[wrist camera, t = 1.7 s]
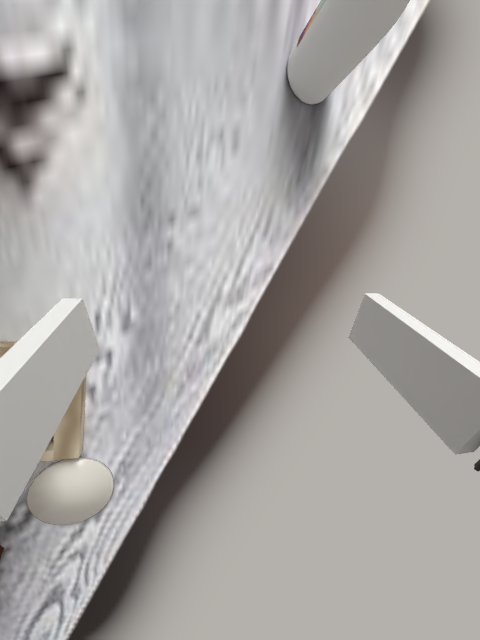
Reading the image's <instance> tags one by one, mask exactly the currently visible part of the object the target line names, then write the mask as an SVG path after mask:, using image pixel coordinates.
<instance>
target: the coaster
mask: <svg viewBox="0 0 480 640" xmlns="http://www.w3.org/2000/svg"><path fill="white" fill-rule="evenodd" d="M113 487H114V479H113V475H112V473H111V471H110V470H109V468H108V467H107V466H105V465H104V464H103V463H101V462H99V461H97V460H94V459H90V458H81V457H80V458H73V459H65V460H62V461H59V462H57V463H54V464H52V465H51V466H49V467H47V468H46V469H44V470H43V471H42V472H41V473H40V474H39V475H38V476H37V477H36V478H35V480H34V481H33V483H32V485H31V486H30V488H29V491H28V494H27V504H28V508H29V510H30V511H31V513H32V514H33V515H34V516H35V517H36V518H38V519H39V520H41V521H43V522H46V523H49V524H55V525H67V524H73V523H78V522H81V521H83V520H86V519H88V518H90V517H92V516H93V515H95V514H96V513H98V512H99V511H100V510H101V509H102V508H103V507H104V506H105V505H106V504H107V502H108V501H109V499H110V497H111V495H112V492H113Z"/></svg>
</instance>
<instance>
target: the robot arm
mask: <svg viewBox="0 0 480 640" xmlns="http://www.w3.org/2000/svg"><path fill="white" fill-rule="evenodd" d="M349 338H350V340H351V341H352V342H353V343H354V344H355V345H356V346H357V347H358V348H359V349H360V350H361V352H362V353H363V354H364V355H365V356H366V357H367V358H368V359H369V360H370V361H371V363H372V364H373V365H374V366H375V367H376V368H377V369H378V370H379V371H380V372H381V374H382V375H383V376H384V377H385V378H386V379H387V380H388V381H389V382H390V384H391V385H392V386H393V387H394V388H395V389H396V390H397V391H398V392H399V393H400V394H401V395H402V397H403V398H404V399H405V400H406V401H407V402H408V403H409V404H410V405H411V407H412V408H413V409H414V410H415V411H416V412H417V413H418V414H419V415H420V416H421V417H422V418H423V420H424V421H425V422H426V423H427V424H428V425H429V426H430V427H431V429H432V430H433V431H434V432H435V433H436V434H437V435H438V436H439V437H440V438H441V440H442V441H443V442H444V443H445V444H446V445H447V446H448V447H449V448H450V449H451V451H452V452H453V453H454V454H461V453H468V452H474V451H475V450H476V449H477V448H478V447H479V446H480V362H479V361H477V360H476V359H474V358H473V357H471V356H470V355H468V354H467V353H465V352H464V351H463V350H461V349H460V348H458V347H457V346H455V345H454V344H452V343H451V342H449V341H448V340H446V339H445V338H443V337H442V336H440V335H439V334H437V333H436V332H435V331H433V330H431V329H430V328H428V327H427V326H426V325H424V324H423V323H421V322H420V321H418V320H417V319H415V318H414V317H412V316H411V315H409V314H408V313H406V312H405V311H404V310H402V309H401V308H399V307H398V306H396V305H395V304H393V303H391V302H390V301H389V300H387V299H386V298H384V297H383V296H381V295H380V294H377V293H376V294H365V295H364V298H363V300H362V303H361V306H360V308H359V311H358V314H357V317H356V319H355V322H354V325H353V327H352V330H351V333H350V336H349ZM98 352H99V347H98V344H97V341H96V338H95V335H94V332H93V329H92V326H91V322H90V319H89V316H88V313H87V310H86V307H85V304H84V301H83V298H75V299H62V300H61V301H59V302H58V303H57V304H56V305H55V306H54V307H53V308H52V309H51V310H50V311H49V312H48V313H47V314H46V315H45V316H44V317H43V318H42V319H41V320H40V321H39V322H38V323H37V324H35V325H34V326H33V327H32V328H31V329H30V330H29V331H28V332H27V333H26V334H25V335H24V336H23V337H22V338H21V339H20V340H19V341H18V342H17V343H16V344H15V345H14V346H13V347H12V348H10V349H9V350H8V351H7V352H6V353H5V354H4V355H3V356H2V357H1V358H0V522H3V521H7V520H8V518H9V516H10V515H11V513H12V511H13V509H14V507H15V505H16V503H17V502H18V500H19V498H20V496H21V494H22V492H23V491H24V489H25V487H26V485H27V483H28V481H29V479H30V478H31V476H32V474H33V472H34V470H35V468H36V466H37V465H38V463H39V461H40V459H41V457H42V455H43V453H44V452H45V450H46V448H47V446H48V444H49V442H50V440H51V439H52V437H53V435H54V433H55V431H56V429H57V428H58V426H59V424H60V422H61V420H62V418H63V416H64V415H65V413H66V411H67V409H68V407H69V405H70V403H71V402H72V400H73V398H74V396H75V394H76V392H77V390H78V389H79V387H80V385H81V383H82V381H83V379H84V377H85V376H86V374H87V372H88V370H89V368H90V366H91V365H92V363H93V361H94V359H95V357H96V355H97V353H98ZM474 469H475V470H477V471H480V460H479V461H478V462H477V463H476V464H475V468H474Z"/></svg>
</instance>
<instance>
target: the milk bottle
mask: <svg viewBox="0 0 480 640" xmlns="http://www.w3.org/2000/svg"><path fill="white" fill-rule="evenodd" d="M409 1H410V0H321V2H320V3H319V5H318V7H317V8H316V10H315V12H314V13H313V15H312V17H311V18H310V20H309V22H308V23H307V25H306V27H305V28H304V30H303V32H302V34H301V35H300V37H299V39H298V40H297V42H296V44H295V46H294V47H293V49H292V51H291V53H290V56H289V60H288V68H287V71H288V80H289V83H290V86H291V88H292V90H293V92H294V94H295V95H296V96H297V97H298V98H299V99H300V100H301V101H302V102H304V103H307V104H317V103H320V102H322V101H323V100H324V99H325V98H326V97H327V96H328V95H329V94H330V93H331V92H332V91H333V90H334V89H335V88H336V87H337V86H338V85H339V84H340V83H341V82H342V81H343V80H344V79H345V78H346V77H347V76H348V75H349V74H350V73H351V72H352V70H353V69H354V68H355V67H356V66H357V65H358V64H359V63H360V62H361V61H362V60H363V59H364V58H365V57H366V56H367V55H368V54H369V52H370V51H371V50H372V49H373V48H374V47H375V46H376V45H377V44H378V43H379V42H380V40H381V39H382V38H383V37H384V36H385V35H386V34H387V33H388V31H389V30H390V29H391V28H392V27H393V25H394V24H395V23H396V21H397V20H398V19H399V17H400V16H401V14H402V13H403V11H404V9H405V8H406V6H407V4H408V3H409Z"/></svg>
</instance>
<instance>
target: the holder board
mask: <svg viewBox="0 0 480 640" xmlns="http://www.w3.org/2000/svg"><path fill="white" fill-rule="evenodd" d="M16 343H17V342H0V358H1V357H2V356H3V355H4V354H5V353H6V352H7V351H8V350H9V349H10V348H12V347H13V346H14V345H15V344H16ZM85 389H86V376H85V377H84V379H83V381H82V383H81V385H80V387H79V389H78V390H77V392H76V394H75V396H74V398H73V400H72V402H71V403H70V405H69V407H68V409H67V411H66V413H65V415H64V416H63V418H62V420H61V422H60V424H59V426H58V428H57V429H56V431H55V433H54V441H50V442H49V444H48V446H47V448H46V450H45V452H44V453H43V455H42V457H41V459H40V461H39V462H42V461H52V460H62V459H73V458H79V456H80V454H81V452H82V449H83V436H84V413H85Z"/></svg>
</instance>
